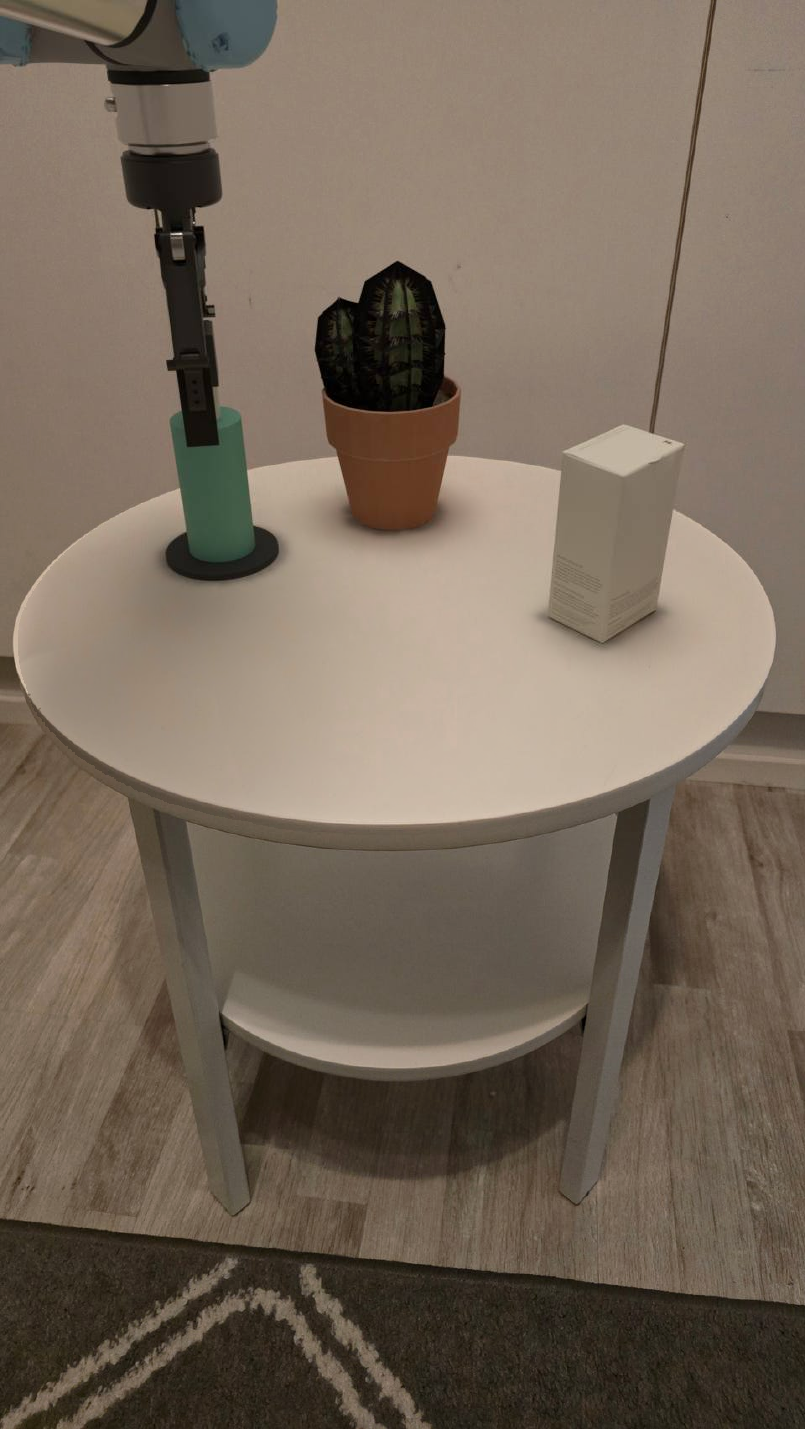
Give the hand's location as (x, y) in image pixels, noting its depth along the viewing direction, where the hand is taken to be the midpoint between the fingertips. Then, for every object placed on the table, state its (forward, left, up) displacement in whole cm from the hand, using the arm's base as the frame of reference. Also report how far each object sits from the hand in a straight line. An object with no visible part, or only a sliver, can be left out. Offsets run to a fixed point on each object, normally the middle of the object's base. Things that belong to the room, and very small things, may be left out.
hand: (203, 417), depth 89 cm
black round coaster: (0, 0, -14) cm, 14 cm away
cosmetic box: (+33, -18, -14) cm, 40 cm away
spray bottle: (0, 0, -13) cm, 13 cm away
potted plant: (+18, +6, -14) cm, 24 cm away
